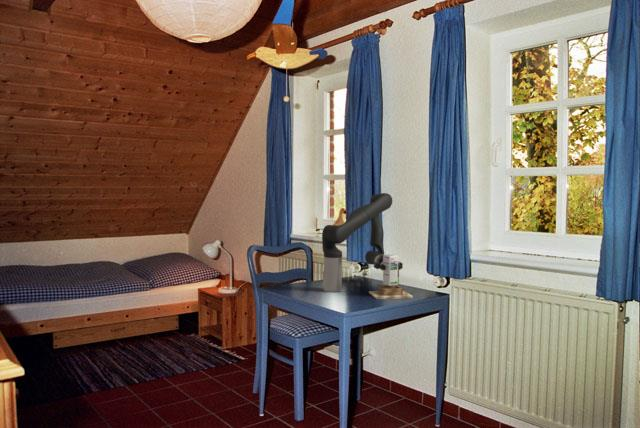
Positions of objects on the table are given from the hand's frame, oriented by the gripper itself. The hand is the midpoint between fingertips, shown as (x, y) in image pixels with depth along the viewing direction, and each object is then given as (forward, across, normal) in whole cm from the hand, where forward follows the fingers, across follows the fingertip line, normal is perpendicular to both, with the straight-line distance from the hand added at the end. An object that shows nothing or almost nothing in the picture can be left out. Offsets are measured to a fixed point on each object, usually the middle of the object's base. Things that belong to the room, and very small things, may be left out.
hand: (392, 267), depth 262 cm
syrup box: (-2, 0, +9) cm, 9 cm away
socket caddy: (-2, 0, +14) cm, 14 cm away
